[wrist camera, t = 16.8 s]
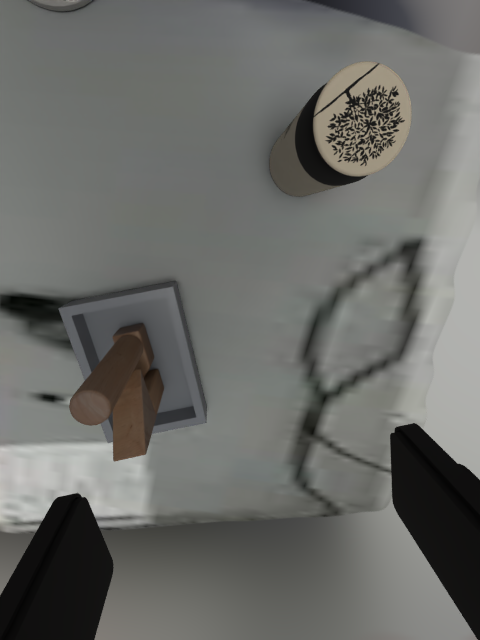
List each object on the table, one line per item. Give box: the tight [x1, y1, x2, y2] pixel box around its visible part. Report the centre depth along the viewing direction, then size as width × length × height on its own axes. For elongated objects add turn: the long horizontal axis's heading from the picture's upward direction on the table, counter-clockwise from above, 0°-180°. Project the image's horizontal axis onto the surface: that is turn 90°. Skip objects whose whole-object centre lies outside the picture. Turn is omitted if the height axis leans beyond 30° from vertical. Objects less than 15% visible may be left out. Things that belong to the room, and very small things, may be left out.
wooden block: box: [69, 323, 164, 461], centre depth 37 cm, size 4×11×18 cm, turn 11°
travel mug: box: [270, 62, 411, 197], centre depth 32 cm, size 8×8×18 cm
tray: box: [58, 281, 207, 443], centre depth 45 cm, size 20×14×4 cm
